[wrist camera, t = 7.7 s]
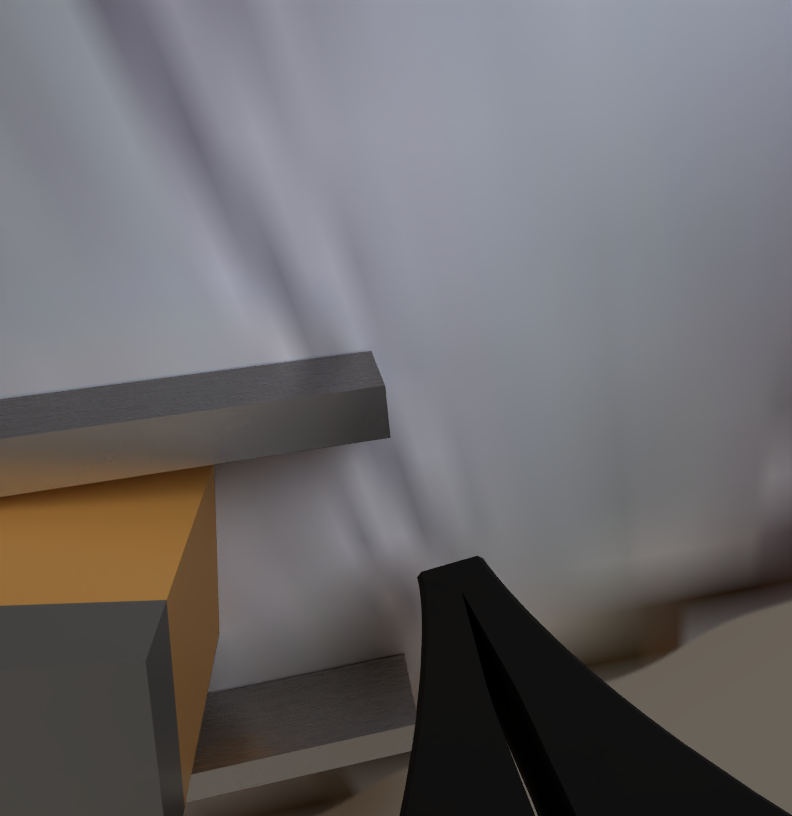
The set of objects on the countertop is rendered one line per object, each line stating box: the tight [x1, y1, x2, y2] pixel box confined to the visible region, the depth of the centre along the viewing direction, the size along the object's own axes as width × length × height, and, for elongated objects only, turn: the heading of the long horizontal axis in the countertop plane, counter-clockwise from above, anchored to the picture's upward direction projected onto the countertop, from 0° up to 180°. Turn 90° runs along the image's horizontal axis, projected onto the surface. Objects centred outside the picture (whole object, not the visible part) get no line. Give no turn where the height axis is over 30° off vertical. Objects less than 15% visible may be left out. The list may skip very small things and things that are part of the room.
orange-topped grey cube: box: [0, 464, 219, 816], centre depth 9 cm, size 5×5×5 cm
